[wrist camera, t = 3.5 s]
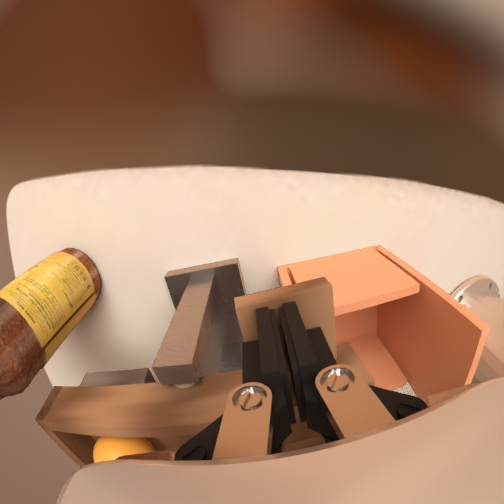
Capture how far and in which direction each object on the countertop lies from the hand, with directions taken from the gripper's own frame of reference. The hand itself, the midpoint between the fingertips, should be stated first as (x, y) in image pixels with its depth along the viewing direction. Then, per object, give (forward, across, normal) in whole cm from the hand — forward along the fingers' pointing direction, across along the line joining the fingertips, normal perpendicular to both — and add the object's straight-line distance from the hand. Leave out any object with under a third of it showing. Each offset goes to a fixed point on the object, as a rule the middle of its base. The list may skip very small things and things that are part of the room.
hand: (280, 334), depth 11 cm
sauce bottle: (+12, +18, -1) cm, 21 cm away
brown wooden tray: (+3, +6, +4) cm, 8 cm away
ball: (-2, +10, +6) cm, 12 cm away
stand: (+12, +5, +6) cm, 14 cm away
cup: (+12, -6, +6) cm, 14 cm away
